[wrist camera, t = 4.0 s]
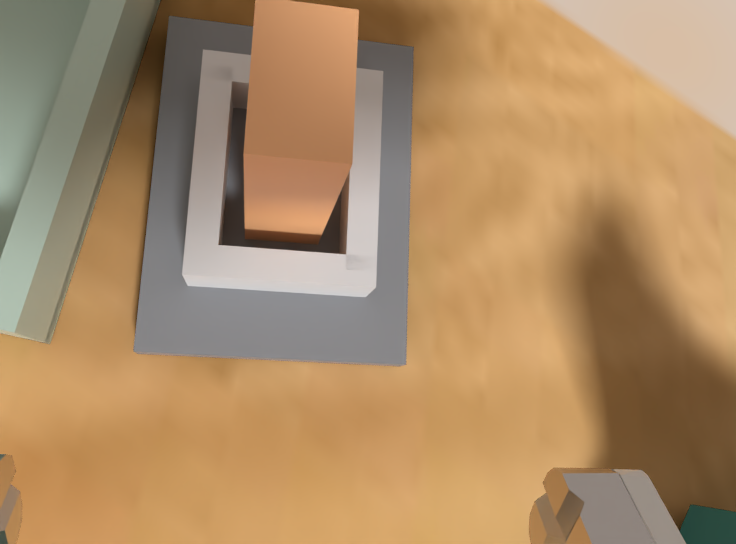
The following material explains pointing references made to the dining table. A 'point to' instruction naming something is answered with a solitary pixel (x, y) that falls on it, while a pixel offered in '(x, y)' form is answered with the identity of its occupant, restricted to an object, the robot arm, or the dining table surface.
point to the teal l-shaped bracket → (709, 526)
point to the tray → (57, 140)
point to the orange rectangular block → (298, 118)
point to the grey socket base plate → (272, 258)
